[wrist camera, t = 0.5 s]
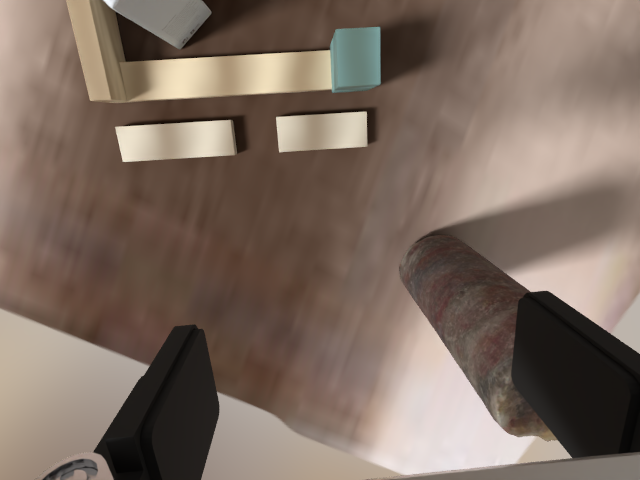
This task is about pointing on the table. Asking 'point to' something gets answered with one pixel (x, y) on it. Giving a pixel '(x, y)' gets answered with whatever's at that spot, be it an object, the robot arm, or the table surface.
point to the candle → (473, 323)
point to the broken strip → (221, 136)
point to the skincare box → (165, 17)
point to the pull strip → (216, 65)
